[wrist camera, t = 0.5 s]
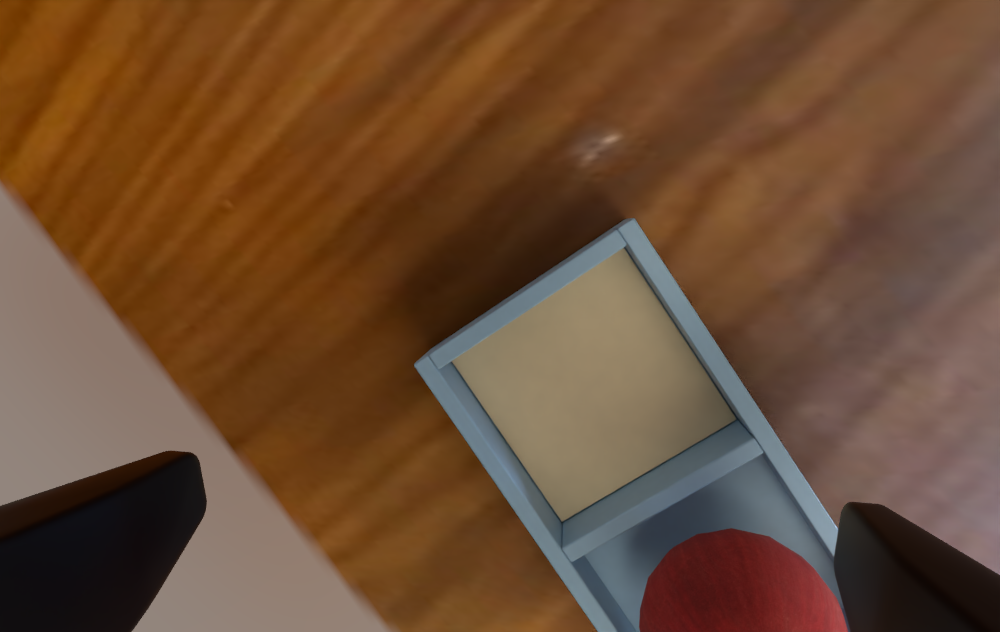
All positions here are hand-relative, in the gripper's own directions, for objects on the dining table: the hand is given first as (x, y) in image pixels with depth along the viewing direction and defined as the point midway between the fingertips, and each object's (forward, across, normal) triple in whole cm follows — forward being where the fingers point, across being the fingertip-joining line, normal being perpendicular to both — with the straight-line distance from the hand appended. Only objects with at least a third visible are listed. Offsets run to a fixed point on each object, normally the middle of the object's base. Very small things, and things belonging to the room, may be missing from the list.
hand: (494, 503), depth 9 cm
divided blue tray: (+13, -3, +7) cm, 15 cm away
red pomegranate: (+13, -5, +10) cm, 17 cm away
